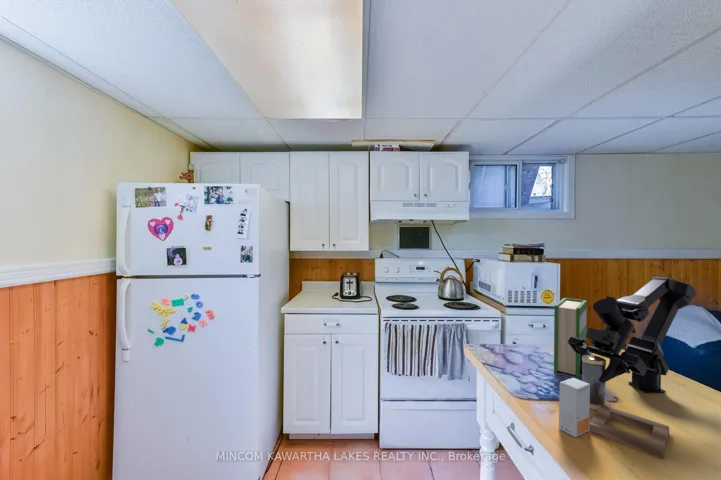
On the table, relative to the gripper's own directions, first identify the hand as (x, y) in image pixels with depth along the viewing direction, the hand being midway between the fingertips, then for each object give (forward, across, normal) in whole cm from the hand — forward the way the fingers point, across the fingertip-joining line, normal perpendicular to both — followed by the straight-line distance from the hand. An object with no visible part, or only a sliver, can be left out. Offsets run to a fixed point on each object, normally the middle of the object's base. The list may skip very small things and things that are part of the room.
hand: (590, 377), depth 91 cm
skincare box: (+17, +6, -6) cm, 19 cm away
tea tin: (+4, 0, +6) cm, 7 cm away
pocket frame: (+9, +12, +2) cm, 15 cm away
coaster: (+5, 0, +6) cm, 8 cm away
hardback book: (-8, -20, +20) cm, 29 cm away
